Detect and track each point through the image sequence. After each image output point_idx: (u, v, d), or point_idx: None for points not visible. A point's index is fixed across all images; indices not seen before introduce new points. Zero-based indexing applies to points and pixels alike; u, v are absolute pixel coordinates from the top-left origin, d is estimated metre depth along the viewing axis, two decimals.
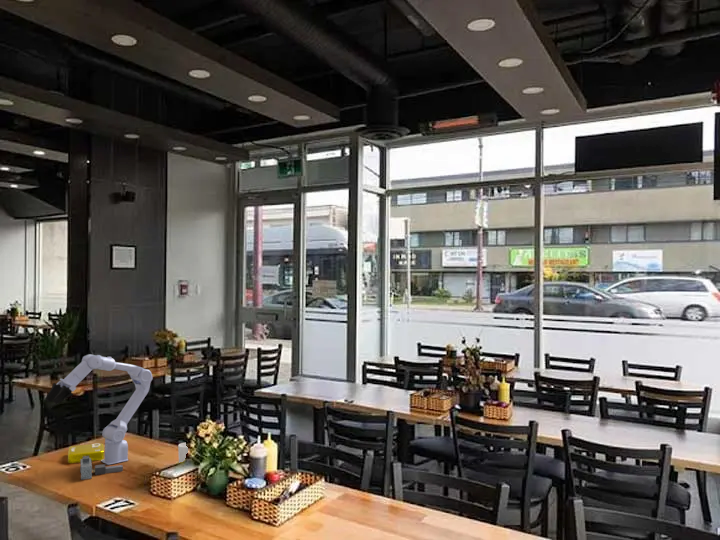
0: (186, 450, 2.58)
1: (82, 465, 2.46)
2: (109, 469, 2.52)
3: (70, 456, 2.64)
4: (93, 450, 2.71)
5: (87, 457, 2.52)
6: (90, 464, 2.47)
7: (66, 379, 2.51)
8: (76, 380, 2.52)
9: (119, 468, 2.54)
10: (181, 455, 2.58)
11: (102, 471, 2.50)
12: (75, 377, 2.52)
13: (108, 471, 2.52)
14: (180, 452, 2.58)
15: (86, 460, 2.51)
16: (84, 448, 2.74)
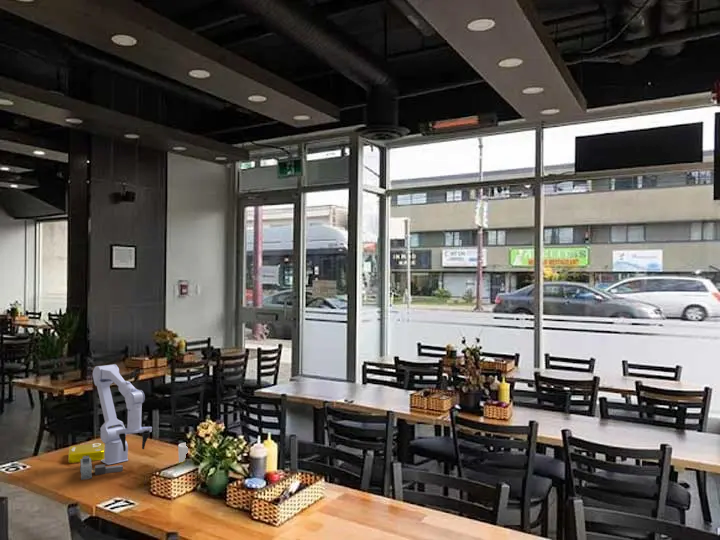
0: (186, 450, 2.58)
1: (82, 465, 2.46)
2: (109, 469, 2.52)
3: (70, 456, 2.65)
4: (93, 450, 2.71)
5: (87, 457, 2.52)
6: (90, 464, 2.47)
7: (137, 427, 2.56)
8: None
9: (119, 468, 2.54)
10: (181, 455, 2.58)
11: (102, 471, 2.50)
12: None
13: (108, 471, 2.52)
14: (180, 452, 2.58)
15: (86, 460, 2.51)
16: (84, 448, 2.74)
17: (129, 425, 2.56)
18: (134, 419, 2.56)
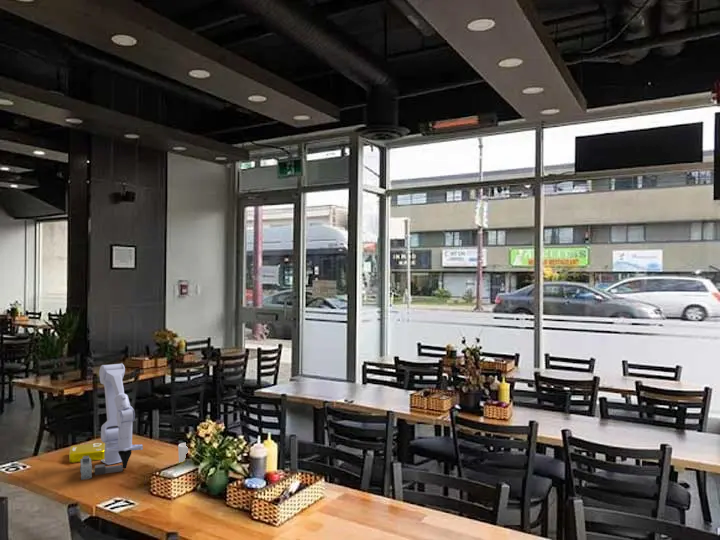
0: (186, 450, 2.58)
1: (82, 465, 2.46)
2: (109, 469, 2.52)
3: (71, 455, 2.65)
4: (94, 450, 2.71)
5: (87, 457, 2.52)
6: (90, 464, 2.47)
7: (128, 446, 2.55)
8: None
9: (119, 468, 2.54)
10: (181, 455, 2.58)
11: (102, 471, 2.50)
12: (131, 438, 2.57)
13: (108, 471, 2.52)
14: (180, 452, 2.58)
15: (86, 460, 2.51)
16: (85, 448, 2.74)
17: (120, 443, 2.54)
18: (123, 437, 2.54)
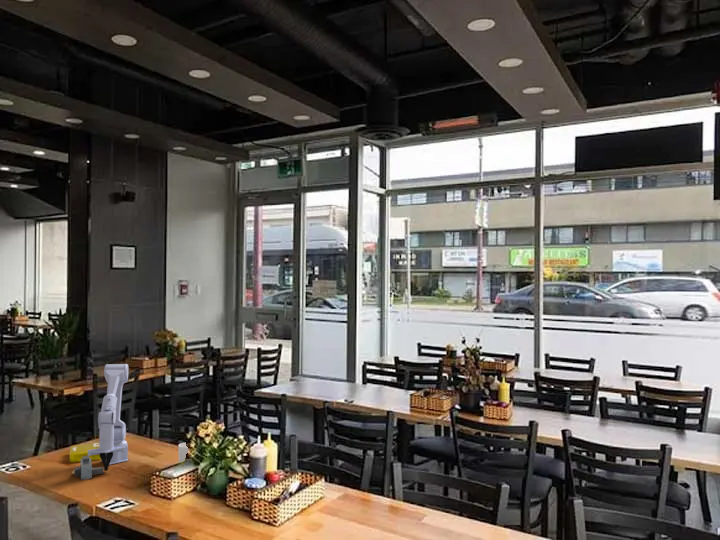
0: (186, 450, 2.58)
1: (82, 465, 2.46)
2: None
3: (72, 455, 2.65)
4: None
5: (87, 457, 2.52)
6: (90, 464, 2.47)
7: (109, 448, 2.51)
8: None
9: (99, 470, 2.51)
10: (181, 455, 2.58)
11: None
12: (113, 440, 2.53)
13: None
14: (180, 452, 2.58)
15: (86, 460, 2.51)
16: (85, 447, 2.75)
17: (101, 445, 2.50)
18: (101, 439, 2.50)
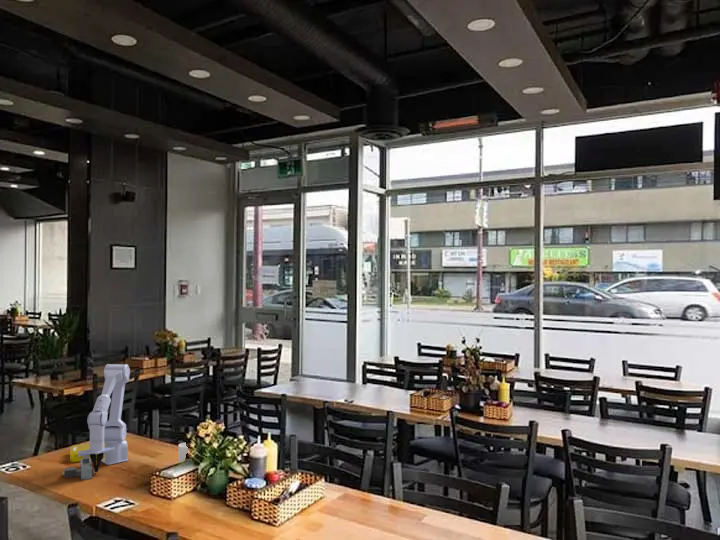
0: (186, 450, 2.58)
1: (82, 465, 2.46)
2: (79, 472, 2.48)
3: (72, 455, 2.65)
4: None
5: (87, 457, 2.52)
6: (90, 464, 2.47)
7: (100, 449, 2.50)
8: None
9: None
10: (181, 455, 2.58)
11: (72, 474, 2.46)
12: (103, 441, 2.52)
13: (78, 474, 2.48)
14: (180, 452, 2.58)
15: (86, 460, 2.51)
16: (86, 447, 2.75)
17: (91, 446, 2.49)
18: (90, 440, 2.49)
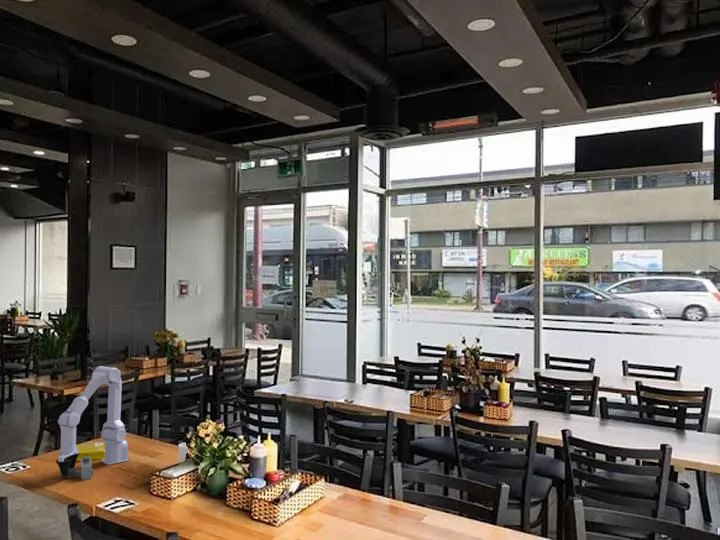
0: (186, 450, 2.58)
1: (82, 465, 2.46)
2: (78, 473, 2.47)
3: None
4: (96, 449, 2.73)
5: (87, 457, 2.52)
6: (90, 464, 2.47)
7: (75, 448, 2.48)
8: None
9: None
10: (181, 455, 2.58)
11: (71, 475, 2.45)
12: None
13: (77, 475, 2.47)
14: (180, 452, 2.58)
15: (86, 460, 2.51)
16: (87, 447, 2.75)
17: (70, 448, 2.44)
18: (61, 441, 2.45)
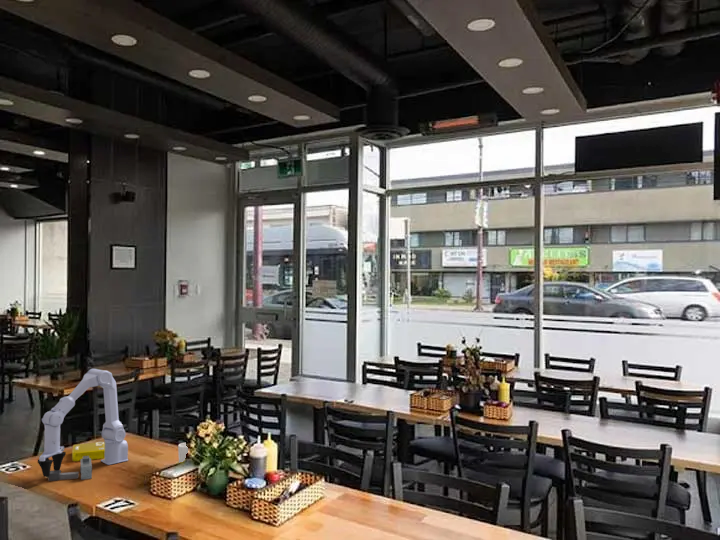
0: (186, 450, 2.58)
1: (82, 465, 2.46)
2: (63, 475, 2.43)
3: (74, 454, 2.67)
4: (97, 448, 2.73)
5: (87, 457, 2.52)
6: (90, 464, 2.47)
7: (59, 448, 2.45)
8: None
9: (74, 475, 2.44)
10: (181, 455, 2.58)
11: (55, 477, 2.42)
12: None
13: (62, 478, 2.43)
14: (180, 452, 2.58)
15: (86, 460, 2.51)
16: (88, 446, 2.76)
17: (53, 447, 2.41)
18: None
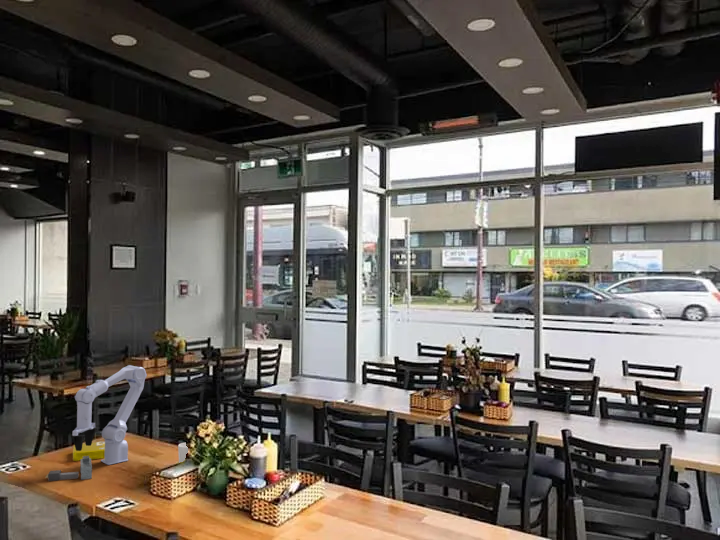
0: (186, 450, 2.58)
1: (82, 465, 2.46)
2: (63, 475, 2.43)
3: (75, 454, 2.67)
4: (97, 448, 2.74)
5: (87, 457, 2.52)
6: (90, 464, 2.47)
7: (91, 424, 2.57)
8: None
9: (74, 475, 2.44)
10: (181, 455, 2.58)
11: (55, 477, 2.42)
12: None
13: (62, 477, 2.43)
14: (180, 452, 2.58)
15: (86, 460, 2.51)
16: (89, 446, 2.77)
17: (85, 423, 2.54)
18: (77, 416, 2.55)
